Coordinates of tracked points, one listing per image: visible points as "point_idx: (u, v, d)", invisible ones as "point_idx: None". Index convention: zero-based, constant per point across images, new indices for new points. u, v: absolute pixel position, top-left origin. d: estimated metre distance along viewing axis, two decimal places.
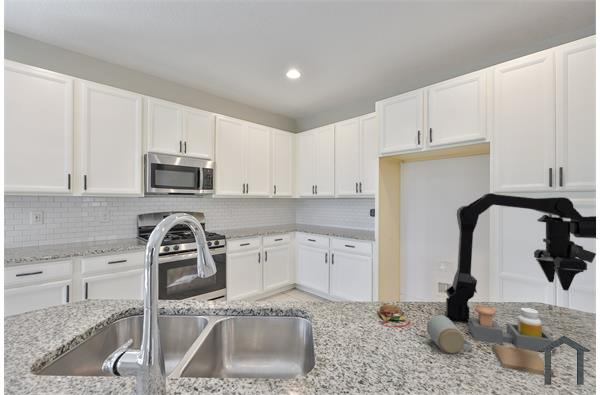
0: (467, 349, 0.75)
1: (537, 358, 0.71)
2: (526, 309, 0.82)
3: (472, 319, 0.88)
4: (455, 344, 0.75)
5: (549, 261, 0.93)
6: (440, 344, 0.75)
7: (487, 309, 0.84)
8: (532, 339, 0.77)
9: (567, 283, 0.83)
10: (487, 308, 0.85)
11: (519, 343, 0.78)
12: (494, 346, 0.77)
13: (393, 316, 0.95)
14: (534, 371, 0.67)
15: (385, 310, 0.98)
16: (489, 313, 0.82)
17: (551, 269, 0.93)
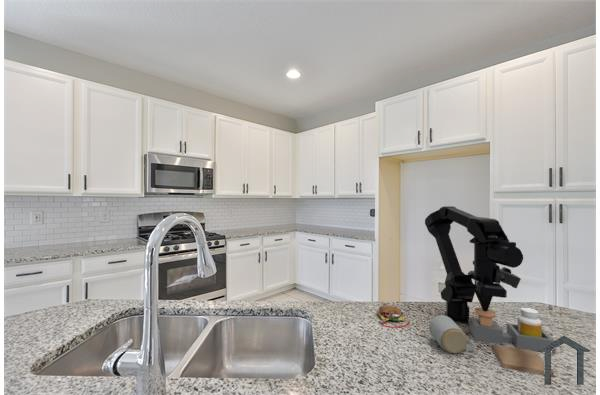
0: (470, 349, 0.75)
1: (537, 358, 0.71)
2: (526, 309, 0.82)
3: (472, 319, 0.88)
4: (458, 344, 0.74)
5: None
6: (442, 344, 0.75)
7: (487, 311, 0.84)
8: (532, 339, 0.77)
9: (486, 304, 0.84)
10: None
11: (519, 343, 0.78)
12: (494, 346, 0.77)
13: (392, 316, 0.95)
14: (534, 371, 0.67)
15: (384, 310, 0.97)
16: (489, 315, 0.82)
17: None
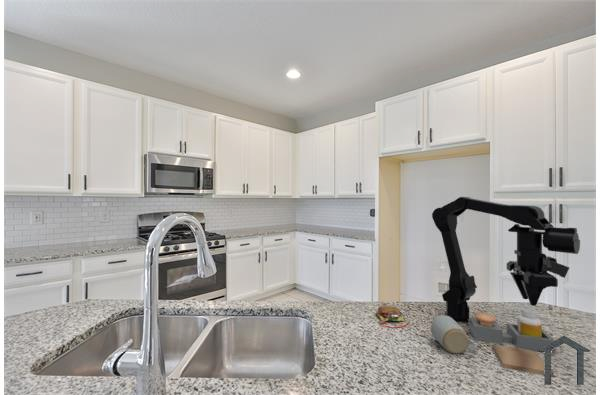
0: (472, 349, 0.75)
1: (537, 358, 0.71)
2: (526, 309, 0.82)
3: (472, 319, 0.88)
4: (460, 344, 0.74)
5: (524, 275, 0.85)
6: (444, 344, 0.75)
7: (487, 316, 0.84)
8: (532, 339, 0.77)
9: (535, 298, 0.78)
10: (488, 315, 0.85)
11: (519, 343, 0.78)
12: (494, 346, 0.77)
13: (391, 317, 0.95)
14: (534, 371, 0.67)
15: (383, 311, 0.97)
16: (489, 320, 0.82)
17: None
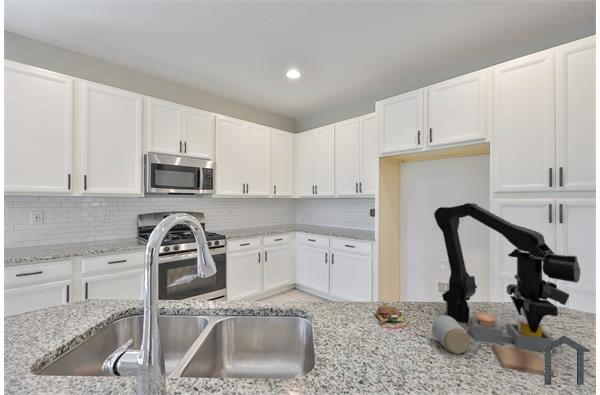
0: (473, 349, 0.75)
1: (537, 358, 0.71)
2: None
3: (472, 319, 0.88)
4: (461, 344, 0.74)
5: (524, 300, 0.84)
6: (446, 344, 0.75)
7: (487, 316, 0.84)
8: (532, 339, 0.77)
9: (535, 325, 0.78)
10: (488, 315, 0.85)
11: (519, 343, 0.78)
12: (494, 346, 0.77)
13: (391, 317, 0.94)
14: (534, 371, 0.67)
15: (383, 311, 0.97)
16: (489, 320, 0.82)
17: None
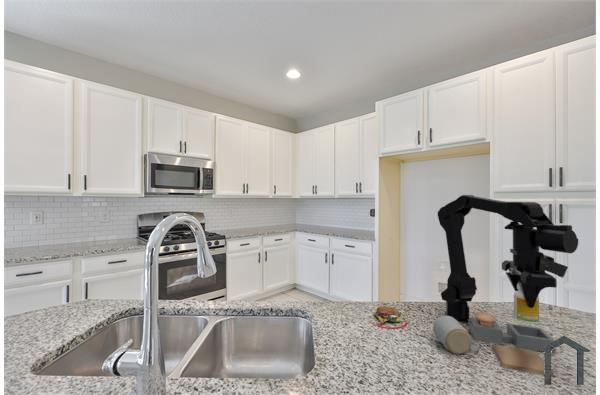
0: (474, 350, 0.75)
1: (537, 358, 0.71)
2: None
3: (472, 319, 0.88)
4: (463, 345, 0.74)
5: (520, 276, 0.80)
6: (447, 345, 0.75)
7: (487, 316, 0.84)
8: (532, 339, 0.77)
9: (532, 299, 0.73)
10: (488, 315, 0.85)
11: (519, 343, 0.78)
12: (494, 346, 0.77)
13: (390, 317, 0.94)
14: (534, 371, 0.67)
15: (382, 311, 0.96)
16: (489, 320, 0.82)
17: None
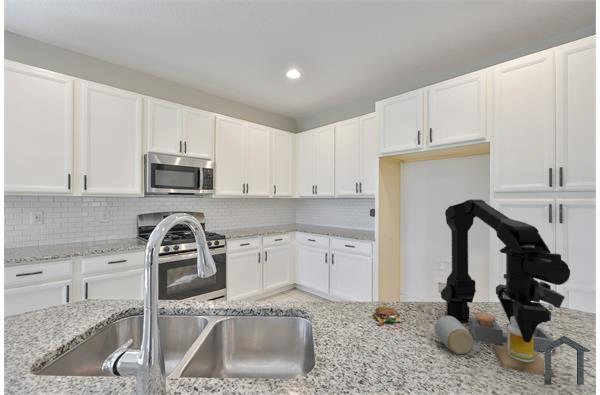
0: (476, 350, 0.75)
1: (537, 358, 0.71)
2: None
3: (472, 319, 0.88)
4: (464, 345, 0.74)
5: (512, 300, 0.77)
6: (449, 345, 0.74)
7: (487, 316, 0.84)
8: None
9: (528, 334, 0.67)
10: (488, 315, 0.85)
11: None
12: (494, 346, 0.77)
13: (389, 318, 0.94)
14: (534, 371, 0.67)
15: (381, 312, 0.96)
16: (489, 320, 0.82)
17: None
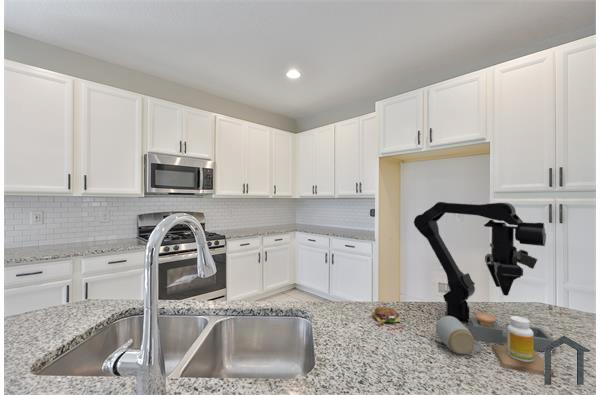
0: (477, 350, 0.75)
1: (537, 358, 0.71)
2: (516, 318, 0.73)
3: (472, 319, 0.88)
4: (466, 345, 0.74)
5: None
6: (450, 345, 0.74)
7: (487, 316, 0.84)
8: None
9: (506, 288, 0.84)
10: (488, 315, 0.85)
11: None
12: (494, 346, 0.77)
13: (388, 318, 0.94)
14: (534, 371, 0.67)
15: (380, 312, 0.96)
16: (489, 320, 0.82)
17: None
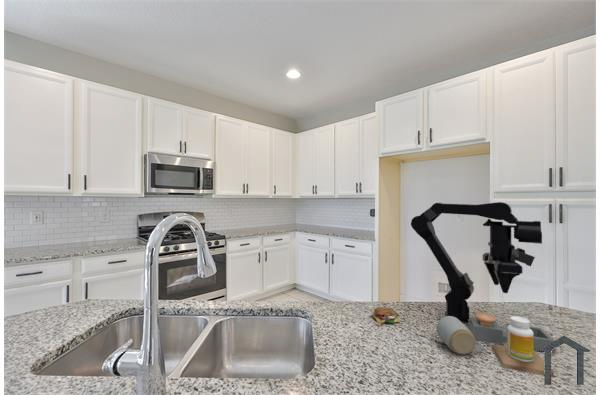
0: (478, 350, 0.75)
1: (537, 358, 0.71)
2: (516, 318, 0.73)
3: (472, 319, 0.88)
4: (467, 345, 0.74)
5: None
6: (451, 345, 0.74)
7: (487, 316, 0.84)
8: None
9: (506, 286, 0.85)
10: (488, 315, 0.85)
11: None
12: (494, 346, 0.77)
13: (388, 318, 0.94)
14: (534, 371, 0.67)
15: (379, 312, 0.96)
16: (489, 320, 0.82)
17: None
